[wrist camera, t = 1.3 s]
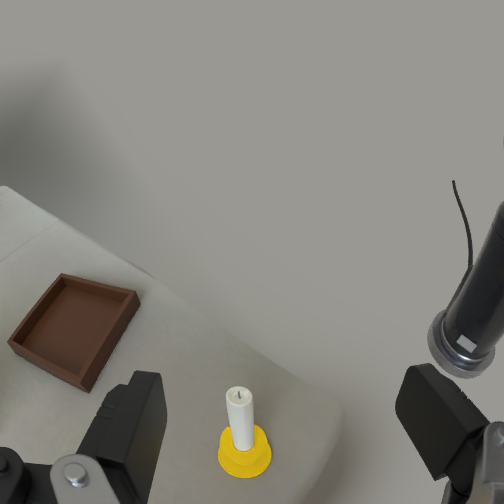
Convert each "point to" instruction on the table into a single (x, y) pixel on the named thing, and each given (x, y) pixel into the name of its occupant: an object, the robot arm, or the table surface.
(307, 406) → the table surface
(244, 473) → the candle
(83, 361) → the tray
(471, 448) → the robot arm
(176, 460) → the table surface
